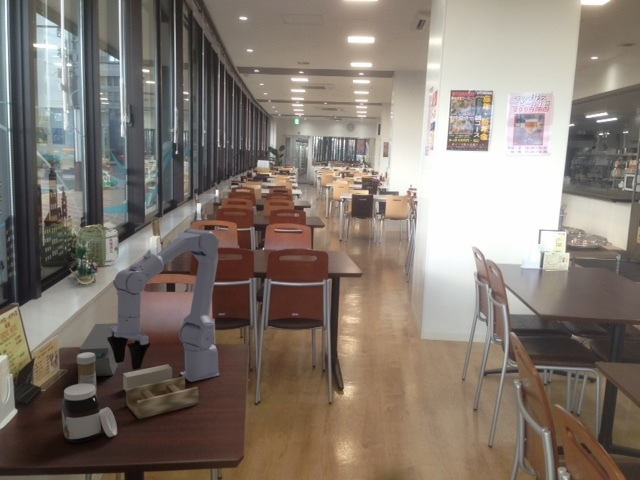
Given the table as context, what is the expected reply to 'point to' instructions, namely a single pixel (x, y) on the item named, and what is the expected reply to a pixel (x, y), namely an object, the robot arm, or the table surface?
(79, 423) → the spread jar
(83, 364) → the sprinkles bottle
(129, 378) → the grayish beige rectangular block
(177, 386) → the wooden compartment tray
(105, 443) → the table surface
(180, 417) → the table surface
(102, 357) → the grey long box
